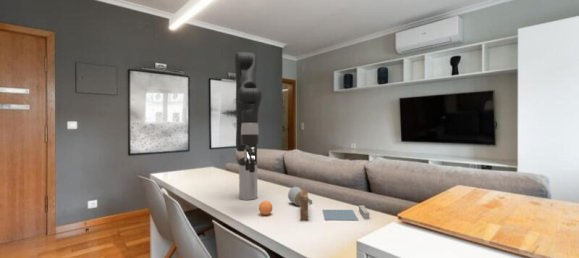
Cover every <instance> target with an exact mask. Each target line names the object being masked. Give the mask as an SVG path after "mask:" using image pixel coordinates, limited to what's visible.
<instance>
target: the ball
mask: <svg viewBox="0 0 579 258" xmlns="http://www.w3.org/2000/svg"><path fill="white" fill-rule="evenodd" d="M258 205H259V206H258V210H259V212H260V213H261V214H262V215H264V216H267V215H270V214H271V213H272V212H273V204H272V203H271V202H270V201H268V200H264V201H262V202H261V203H260V204H258Z"/></svg>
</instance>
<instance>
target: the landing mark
mask: <svg viewBox="0 0 579 258" xmlns="http://www.w3.org/2000/svg"><path fill="white" fill-rule="evenodd" d="M322 214H323V218H324V221H359V218H358V217H357V215H356V213H355V211H354V209H322Z"/></svg>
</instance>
